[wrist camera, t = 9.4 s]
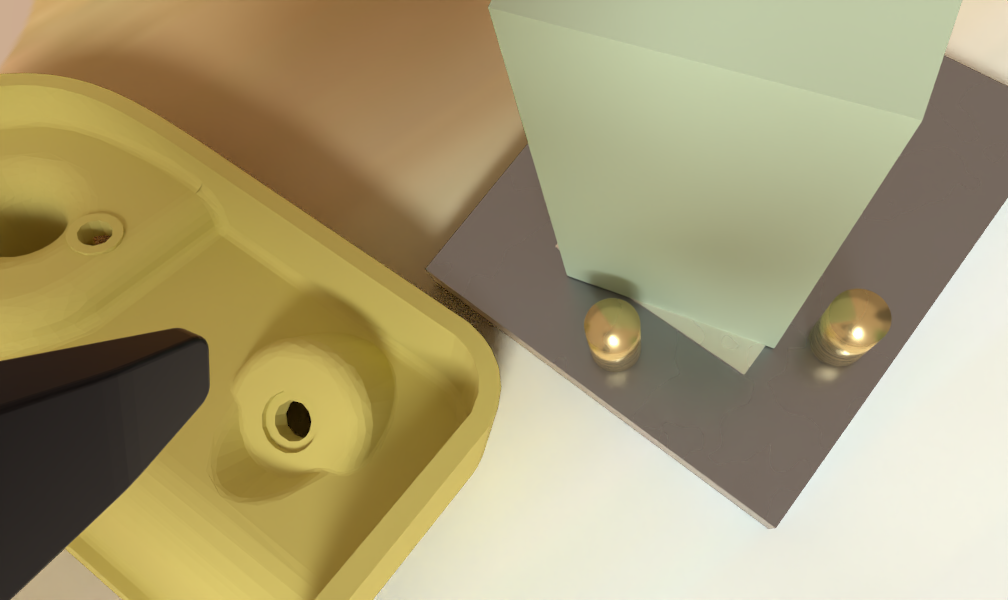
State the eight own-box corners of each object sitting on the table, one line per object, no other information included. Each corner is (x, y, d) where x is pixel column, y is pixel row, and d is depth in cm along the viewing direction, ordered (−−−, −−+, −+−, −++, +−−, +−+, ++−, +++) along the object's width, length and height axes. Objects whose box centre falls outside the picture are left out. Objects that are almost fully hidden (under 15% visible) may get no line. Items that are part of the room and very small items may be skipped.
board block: (774, 348, 21) (922, 120, 10) (566, 275, 23) (488, 7, 11) (820, 217, 22) (1005, -132, 11) (617, 156, 23) (590, -204, 12)
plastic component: (537, 367, 21) (265, 702, 16) (497, 478, 27) (289, 749, 21) (39, 33, 26) (-307, 198, 20) (98, 189, 32) (-157, 350, 26)
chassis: (768, 528, 21) (792, 526, 18) (435, 281, 25) (402, 239, 21) (1045, 135, 23) (1114, 64, 19) (695, -39, 27) (702, -124, 23)
